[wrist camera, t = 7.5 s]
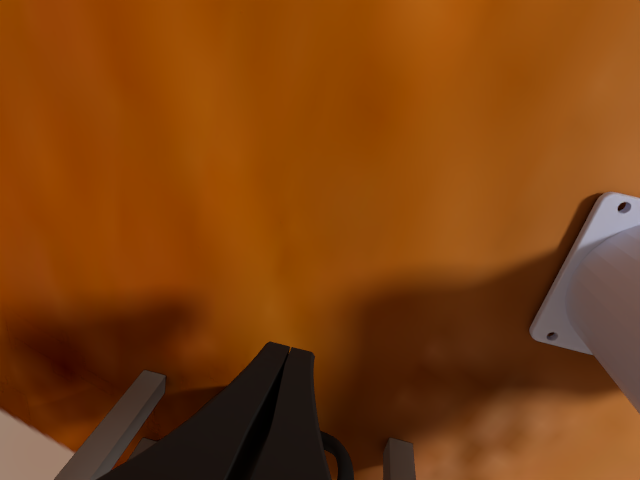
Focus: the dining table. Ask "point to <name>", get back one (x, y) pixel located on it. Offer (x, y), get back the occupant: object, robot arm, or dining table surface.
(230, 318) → the dining table surface
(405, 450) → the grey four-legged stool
